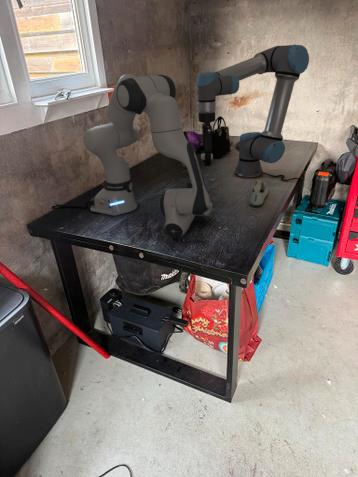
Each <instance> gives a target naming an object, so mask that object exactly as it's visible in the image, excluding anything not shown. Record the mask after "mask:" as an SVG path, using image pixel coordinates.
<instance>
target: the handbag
mask: <svg viewBox="0 0 358 477" xmlns="http://www.w3.org/2000/svg"><path fill="white" fill-rule="evenodd" d="M222 122H223V126H221V125H222ZM216 123H217V124H216ZM216 125H217V126H216ZM215 126H216V127H217V128H215ZM230 136H231V134H230V128H229V126H227V124H226V120H225V118H224V117H223V116H221V115H219V116H218V117H217V118H215V121H214V122H213V125H212V152H211V154H213V159H220V158H222V157H224V156H225V155H227V154H228V153H230V152H231V145H230V141H231V139H230Z"/></svg>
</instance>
